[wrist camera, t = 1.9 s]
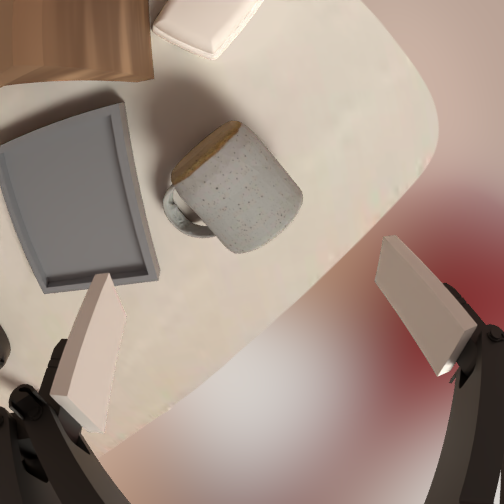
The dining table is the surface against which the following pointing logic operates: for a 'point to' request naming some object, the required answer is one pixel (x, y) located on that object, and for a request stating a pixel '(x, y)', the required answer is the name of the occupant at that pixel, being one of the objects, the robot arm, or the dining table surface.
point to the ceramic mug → (233, 190)
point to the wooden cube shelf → (74, 41)
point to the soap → (204, 24)
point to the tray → (79, 202)
